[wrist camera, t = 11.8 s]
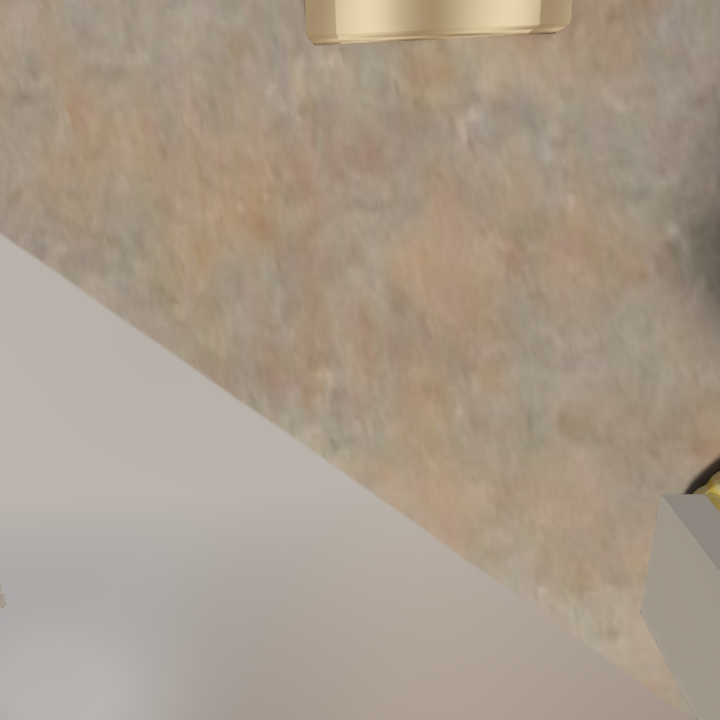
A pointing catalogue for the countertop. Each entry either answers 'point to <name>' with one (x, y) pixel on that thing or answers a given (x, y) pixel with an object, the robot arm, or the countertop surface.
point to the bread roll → (712, 490)
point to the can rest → (430, 19)
